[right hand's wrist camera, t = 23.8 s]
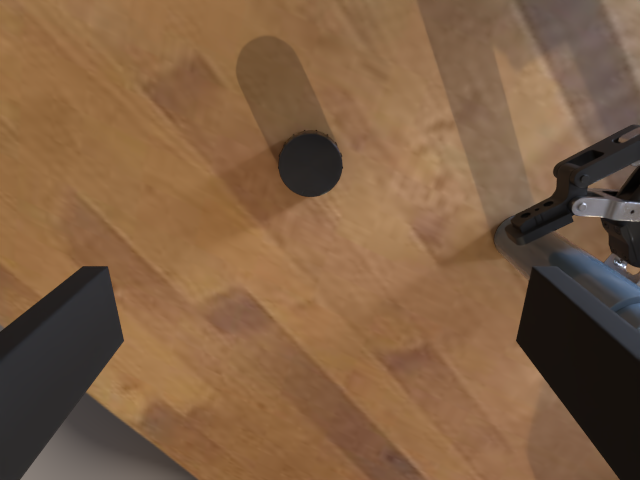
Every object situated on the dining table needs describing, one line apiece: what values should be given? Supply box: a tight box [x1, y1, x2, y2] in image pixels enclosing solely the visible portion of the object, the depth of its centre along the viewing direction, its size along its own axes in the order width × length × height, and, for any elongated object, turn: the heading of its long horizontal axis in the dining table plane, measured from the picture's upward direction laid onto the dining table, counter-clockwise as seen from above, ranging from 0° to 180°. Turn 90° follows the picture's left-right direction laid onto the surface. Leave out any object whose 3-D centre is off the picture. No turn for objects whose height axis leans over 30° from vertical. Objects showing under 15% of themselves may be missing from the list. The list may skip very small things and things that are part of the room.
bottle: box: [494, 216, 640, 332], centre depth 28 cm, size 4×4×15 cm
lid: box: [278, 130, 343, 197], centre depth 31 cm, size 5×5×2 cm
